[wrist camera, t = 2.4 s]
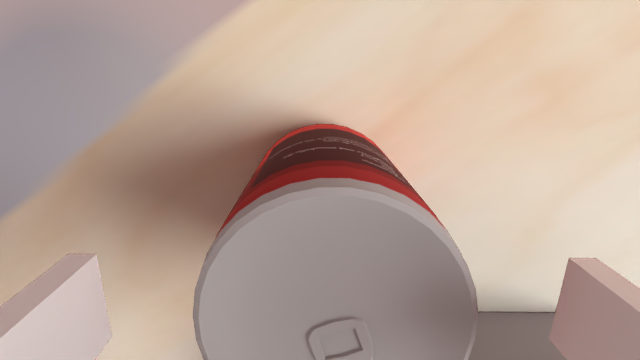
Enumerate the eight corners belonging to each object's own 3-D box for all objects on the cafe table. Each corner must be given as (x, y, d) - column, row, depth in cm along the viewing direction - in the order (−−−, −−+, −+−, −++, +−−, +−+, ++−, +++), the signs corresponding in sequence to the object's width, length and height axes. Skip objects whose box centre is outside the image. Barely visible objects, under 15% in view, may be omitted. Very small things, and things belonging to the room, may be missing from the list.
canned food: (307, 280, 22) (300, 479, 11) (225, 171, 20) (123, 288, 9) (421, 214, 21) (531, 366, 10) (346, 92, 19) (386, 122, 8)
